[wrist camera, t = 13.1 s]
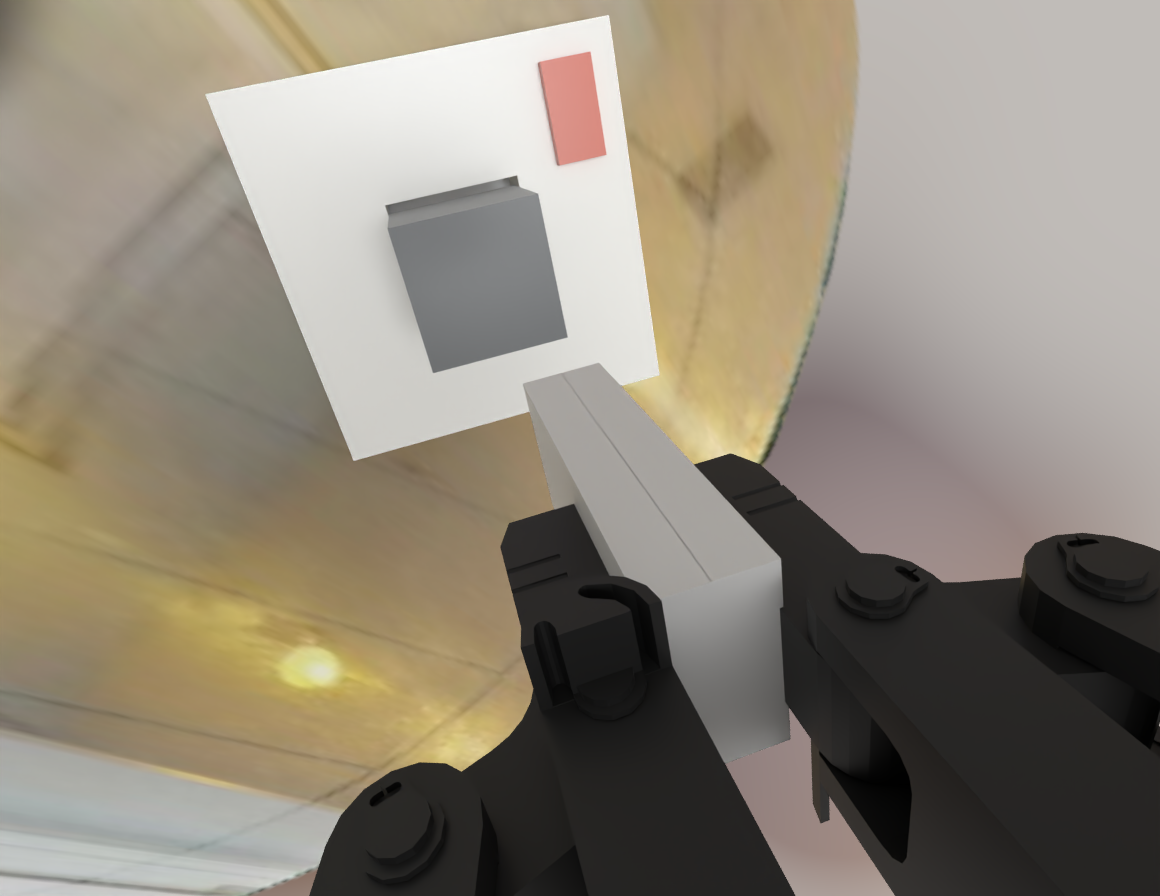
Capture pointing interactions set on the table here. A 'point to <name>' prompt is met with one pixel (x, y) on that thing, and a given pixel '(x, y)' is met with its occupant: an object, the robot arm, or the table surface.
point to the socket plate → (434, 174)
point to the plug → (478, 275)
